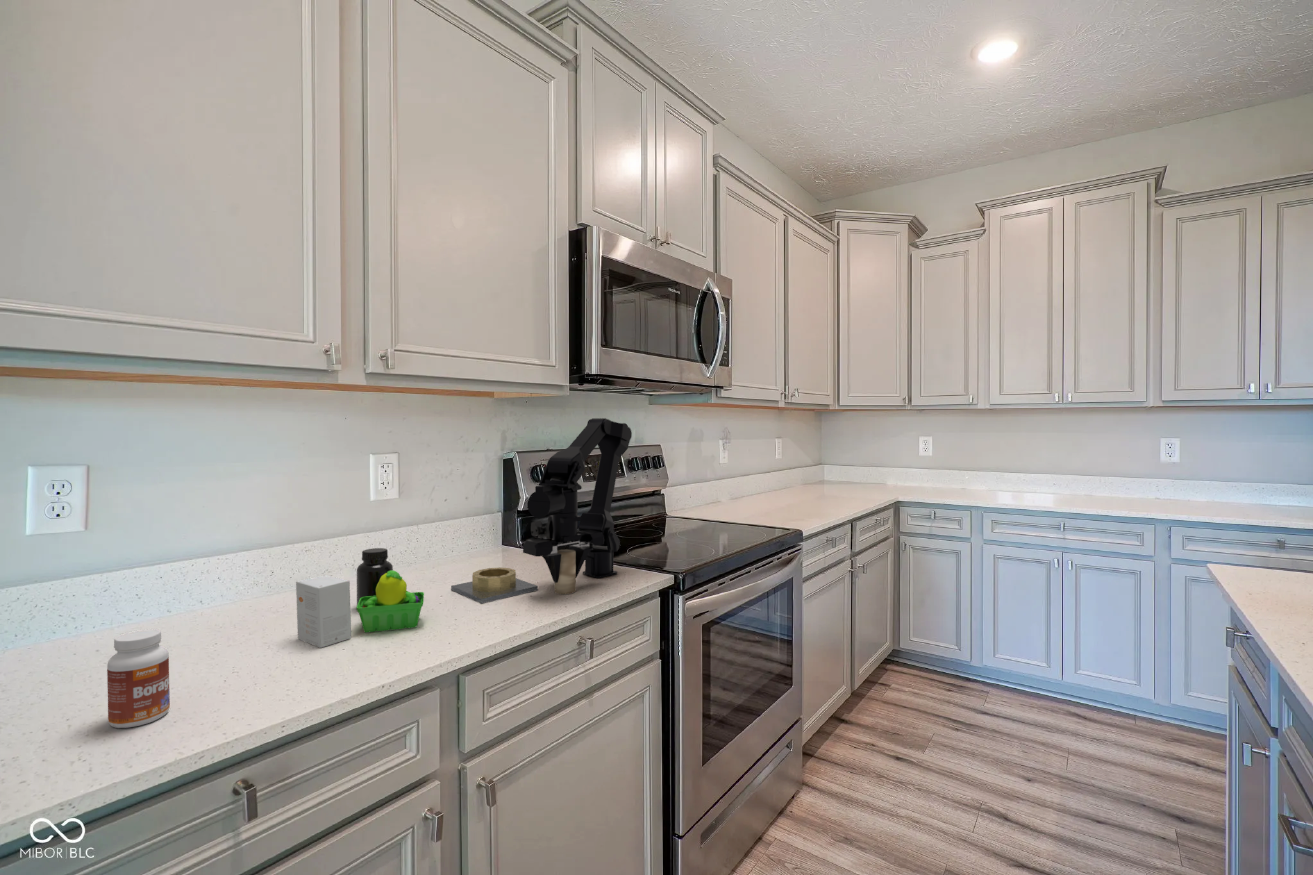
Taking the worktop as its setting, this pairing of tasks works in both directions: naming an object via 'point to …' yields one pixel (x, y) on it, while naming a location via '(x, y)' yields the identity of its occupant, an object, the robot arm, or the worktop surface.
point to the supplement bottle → (371, 571)
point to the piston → (566, 573)
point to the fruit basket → (390, 605)
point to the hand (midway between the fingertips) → (565, 580)
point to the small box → (323, 610)
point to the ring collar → (493, 585)
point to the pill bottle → (138, 679)
